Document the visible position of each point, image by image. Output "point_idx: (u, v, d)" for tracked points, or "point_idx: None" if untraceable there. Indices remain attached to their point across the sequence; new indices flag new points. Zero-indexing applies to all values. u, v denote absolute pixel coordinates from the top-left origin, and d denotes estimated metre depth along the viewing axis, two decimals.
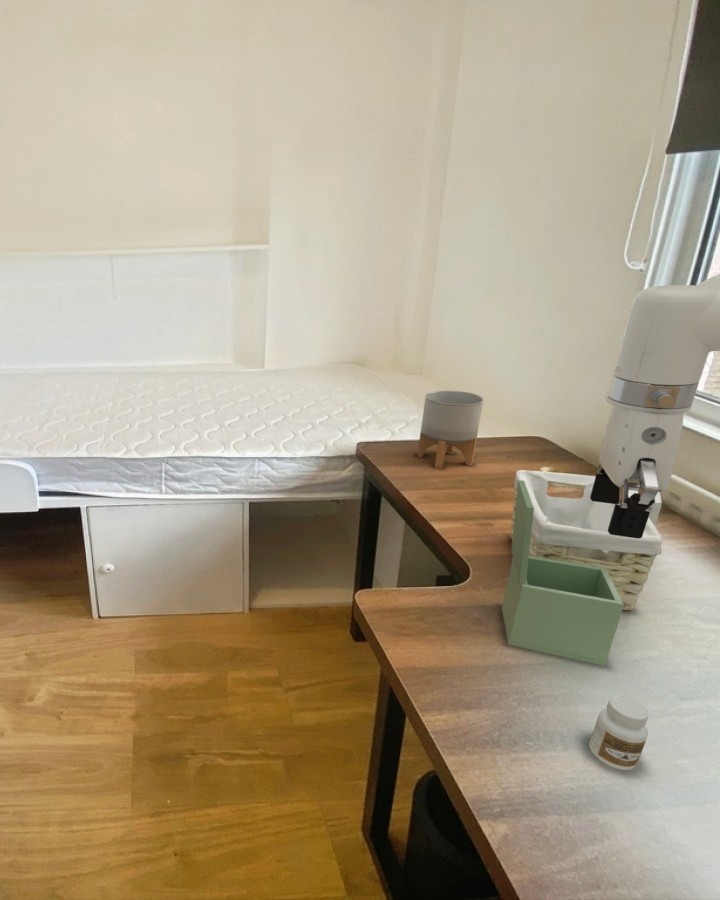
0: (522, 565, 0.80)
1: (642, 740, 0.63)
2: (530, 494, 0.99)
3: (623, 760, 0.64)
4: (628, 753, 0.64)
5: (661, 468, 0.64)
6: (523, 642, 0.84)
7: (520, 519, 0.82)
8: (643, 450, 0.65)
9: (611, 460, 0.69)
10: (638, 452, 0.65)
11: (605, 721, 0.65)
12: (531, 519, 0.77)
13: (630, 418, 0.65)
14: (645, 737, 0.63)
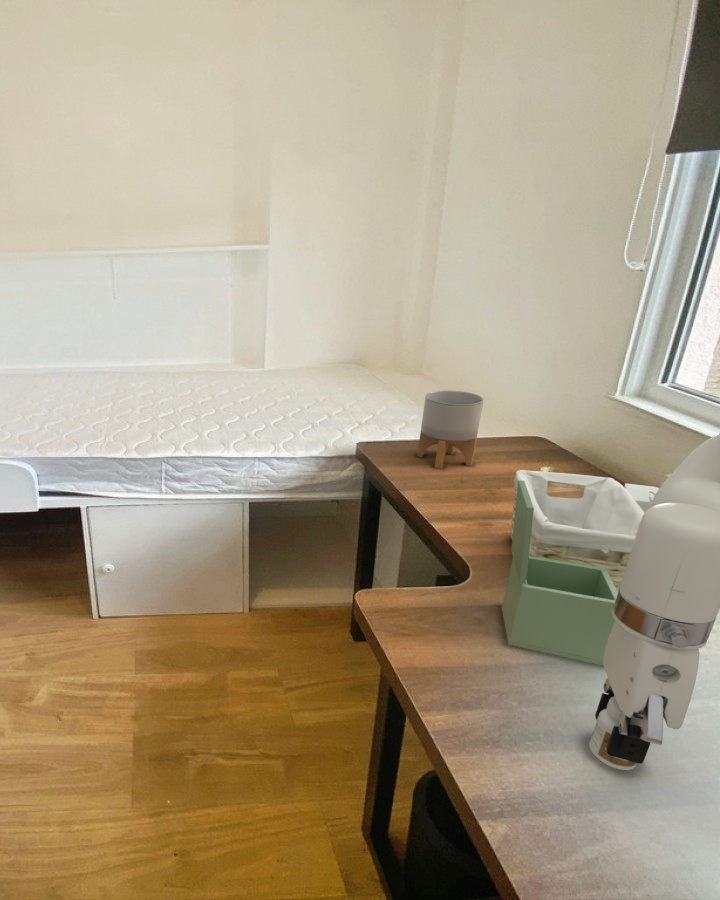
0: (522, 565, 0.80)
1: None
2: (530, 494, 0.99)
3: (623, 760, 0.64)
4: None
5: (674, 708, 0.57)
6: (523, 642, 0.84)
7: (520, 519, 0.82)
8: (654, 686, 0.58)
9: (617, 681, 0.62)
10: (648, 687, 0.58)
11: (605, 721, 0.65)
12: (531, 519, 0.77)
13: (639, 648, 0.58)
14: None
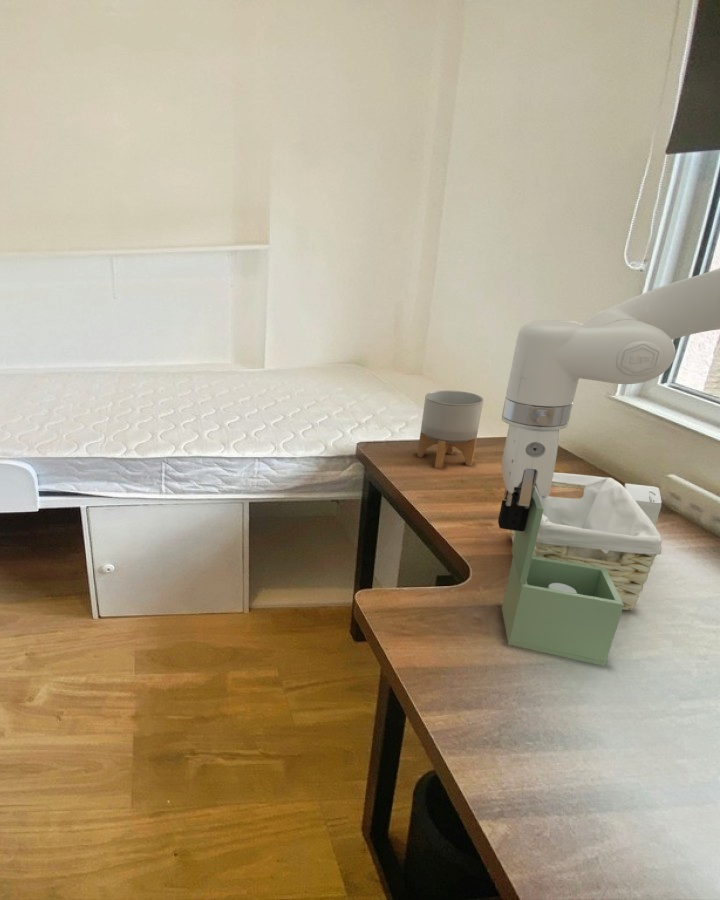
0: (524, 565, 0.80)
1: None
2: None
3: None
4: None
5: (542, 477, 0.75)
6: (523, 642, 0.84)
7: None
8: (527, 462, 0.75)
9: (505, 470, 0.79)
10: (523, 464, 0.75)
11: None
12: (539, 520, 0.77)
13: (517, 434, 0.76)
14: None
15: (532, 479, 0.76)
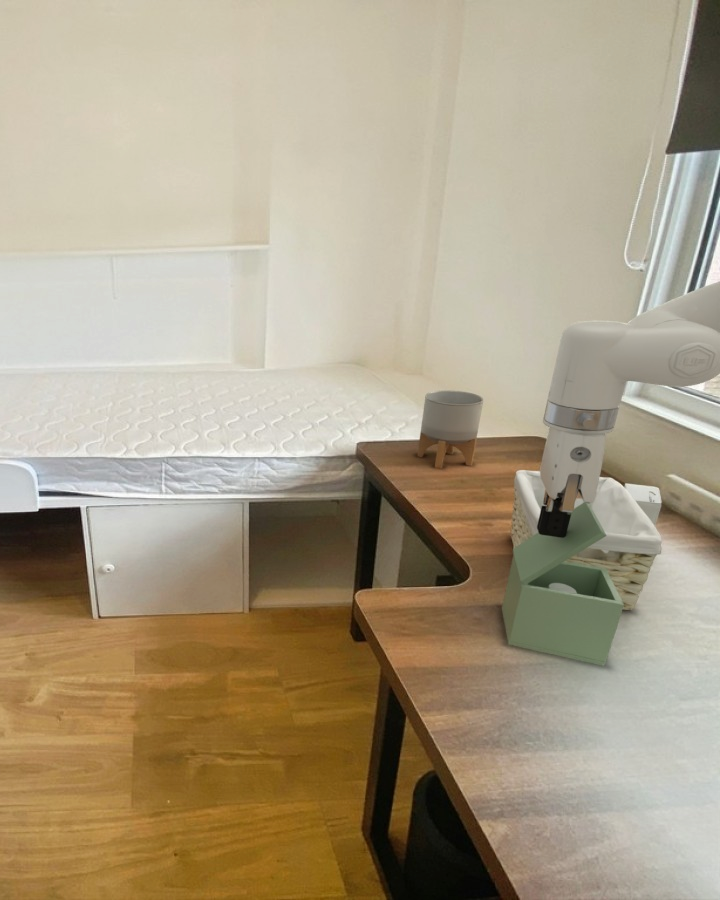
0: (540, 571, 0.79)
1: None
2: (530, 494, 0.99)
3: None
4: None
5: (587, 483, 0.72)
6: (523, 642, 0.84)
7: (567, 534, 0.79)
8: (572, 467, 0.73)
9: (547, 475, 0.77)
10: (567, 469, 0.73)
11: None
12: (593, 542, 0.75)
13: (560, 438, 0.73)
14: None
15: (576, 484, 0.74)
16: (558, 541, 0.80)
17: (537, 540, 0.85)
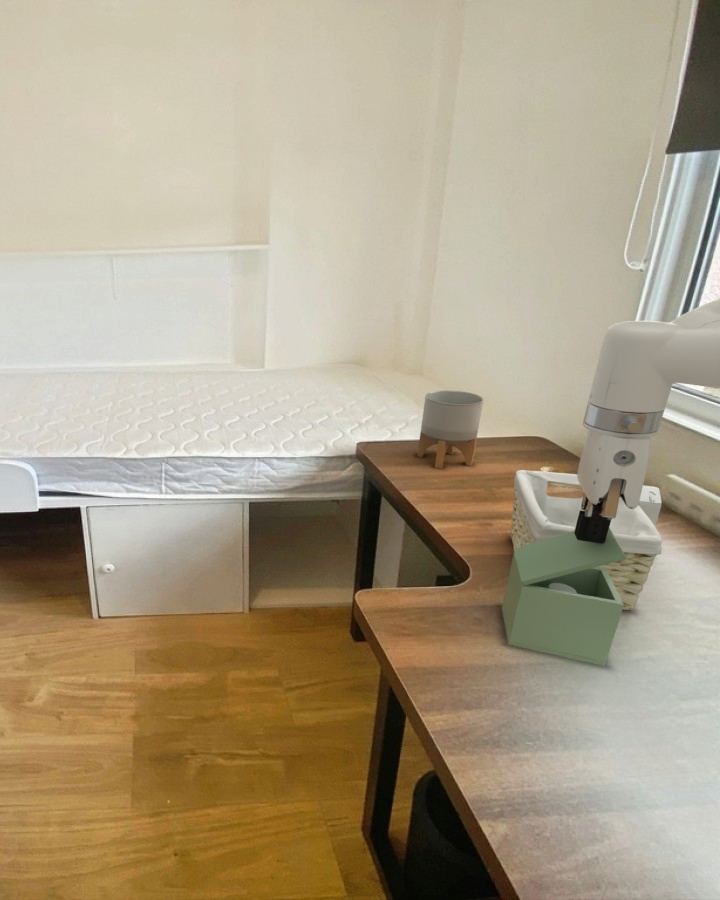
0: (545, 576, 0.79)
1: None
2: (530, 494, 0.99)
3: None
4: None
5: (631, 488, 0.70)
6: (523, 642, 0.84)
7: (582, 548, 0.79)
8: (615, 471, 0.71)
9: (587, 479, 0.75)
10: (610, 473, 0.71)
11: None
12: (610, 562, 0.75)
13: (603, 442, 0.71)
14: None
15: (619, 489, 0.72)
16: (570, 552, 0.80)
17: (544, 546, 0.84)
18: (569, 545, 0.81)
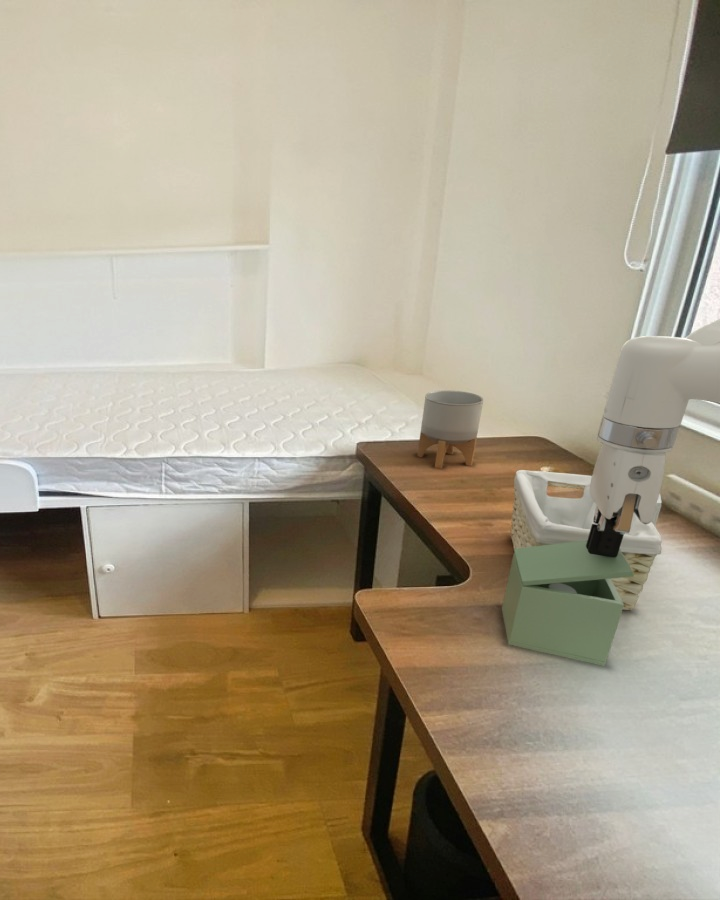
0: (547, 580, 0.79)
1: None
2: (530, 494, 0.99)
3: None
4: None
5: (646, 503, 0.70)
6: (523, 642, 0.84)
7: (587, 559, 0.79)
8: (629, 486, 0.71)
9: (600, 493, 0.75)
10: (625, 488, 0.71)
11: None
12: (616, 577, 0.75)
13: (617, 457, 0.71)
14: None
15: (633, 504, 0.71)
16: (575, 561, 0.80)
17: (547, 551, 0.85)
18: (574, 554, 0.82)
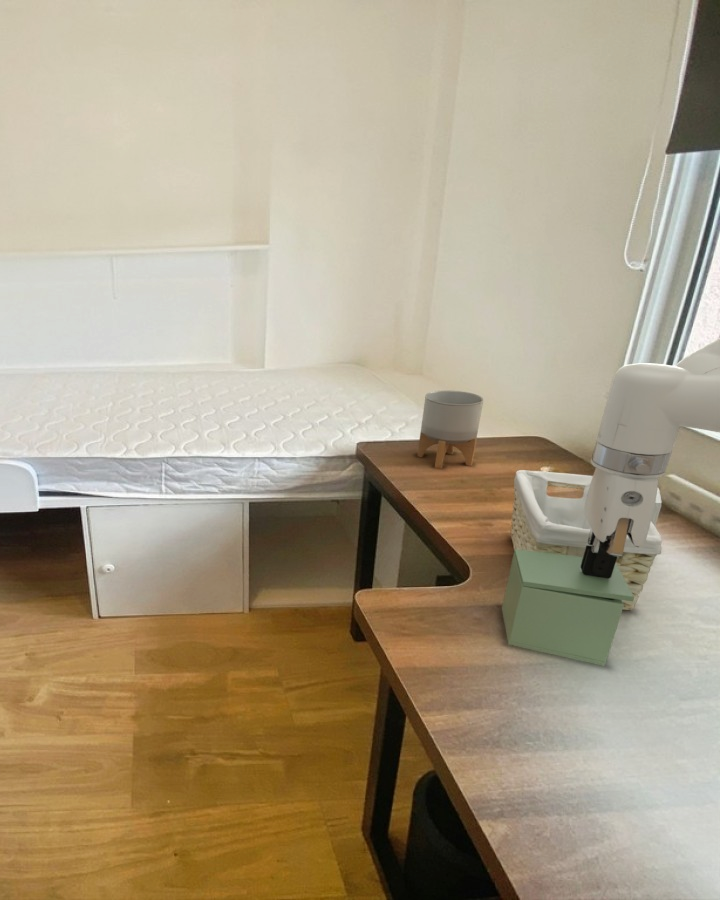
0: (548, 586, 0.79)
1: None
2: (530, 494, 0.99)
3: None
4: None
5: (638, 527, 0.72)
6: (523, 642, 0.84)
7: None
8: (622, 511, 0.72)
9: (594, 516, 0.76)
10: (618, 512, 0.72)
11: None
12: (616, 598, 0.76)
13: (610, 481, 0.73)
14: None
15: (626, 528, 0.73)
16: (576, 574, 0.81)
17: (549, 559, 0.85)
18: (576, 567, 0.82)
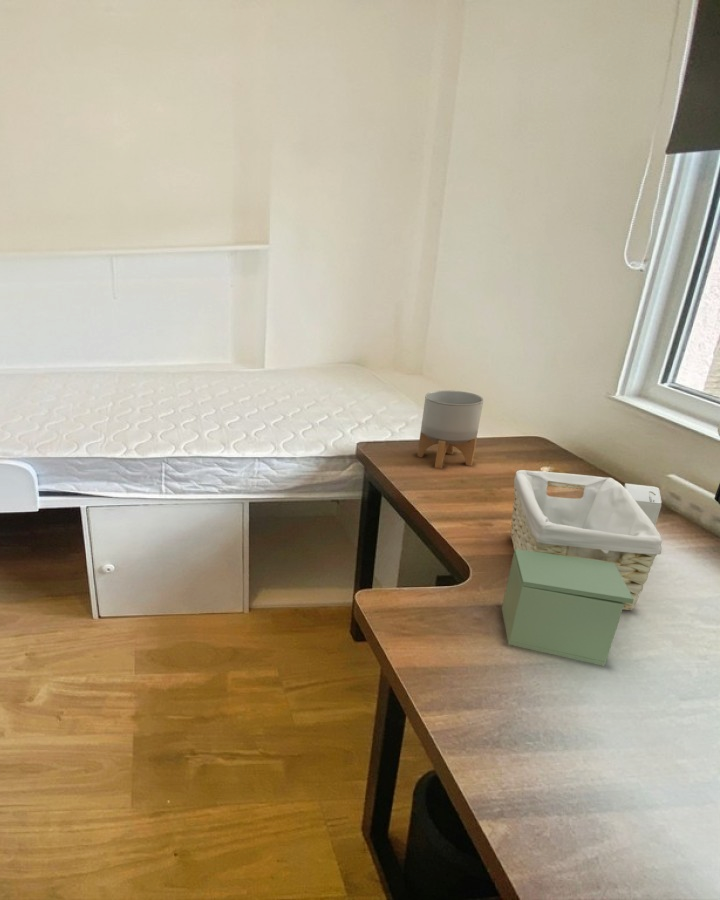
0: (548, 586, 0.79)
1: None
2: (530, 494, 0.99)
3: None
4: None
5: None
6: (523, 642, 0.84)
7: (589, 577, 0.80)
8: None
9: None
10: None
11: None
12: (615, 600, 0.76)
13: None
14: None
15: None
16: (576, 576, 0.81)
17: (549, 560, 0.85)
18: (575, 569, 0.82)
